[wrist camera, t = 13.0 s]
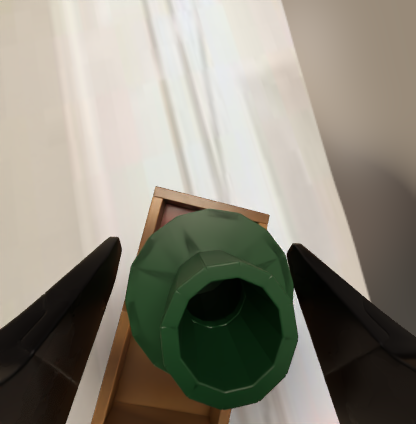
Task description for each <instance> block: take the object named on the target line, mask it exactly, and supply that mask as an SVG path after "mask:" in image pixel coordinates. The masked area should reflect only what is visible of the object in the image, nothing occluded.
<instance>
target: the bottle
mask: <svg viewBox="0 0 416 424" xmlns="http://www.w3.org/2000/svg"><path fill="white" fill-rule="evenodd" d="M293 285H294V284H293V280H292V277H291V273H290V270H289V266H288V262H287V259H286V255H285V253H284V252H283V251H282V249H281V248H280V247H279V245H278V244H277V243H276V241H275V240H274V239H273V237H272V236H271V235H270V233H269V232H268V231H267V230H266V229H265V228H264V227H262V226H260V225H259V224H257V223H256V222H254V221H252V220H251V219H249V218H247V217H246V216H244V215H242V214H241V213H237V212H230V211H224V210H217V209H211V208H209V209H203V210H199V211H195V212H191V213H187V214H183V215H179V216H177V217H175V218H174V219H172V220H171V221H169V222H168V223H167V224H165V225H164V226H163V227H161V228H160V229H158V230H157V231H156V232H154V233H153V234H152V235H151V236H150V237H149V238H148V239H147V241H146V243H145V244H144V246H143V247H142V249H141V251H140V252H139V254H138V255H137V257H136V259H135V260H134V262H133V263H132V266H131V269H130V274H129V280H128V286H127V291H126V297H125V305H126V309H127V314H128V318H129V323H130V327H131V332H132V336H133V338H134V339H135V341H136V342H137V343H138V345H139V346H140V347H141V349H142V350H143V352H144V353H145V354H146V356H147V357H148V358H149V360H150V361H151V362H152V364H153V365H154V366H155V367H157V368H159V369H161V370H163V371H165V372H166V373H168V374H170V375H171V377H172V378H173V379H174V381H175V382H176V383H177V385H178V386H179V387H180V389H181V390H182V392H183V393H184V394H185V396H186V397H188V398H189V399H191V400H194V401H197V402H200V403H202V404H205V405H208V406H211V407H213V408H216V409H219V410H222V409H223V410H228V409H232V408H237V407H241V406H245V405H249V404H253V403H257V402H258V400H259V401H261V400H262V399H263V398H264V397H265V396H266V395H267V394H268V393H269V392H270V391H271V390H272V389H273V388H274V387H275V386H276V385H277V384H278V383H279V382H280V381H281V380H282V379H283V378H284V377H285V376H286V375H285V374H287V373H288V370H289V367H290V364H291V360H292V357H293V354H294V351H295V348H296V345H297V342H298V333H297V326H296V320H295V313H294V307H293V303H292V302H293V291H294V286H293Z"/></svg>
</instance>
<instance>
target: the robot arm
mask: <svg viewBox="0 0 416 424" xmlns="http://www.w3.org/2000/svg"><path fill="white" fill-rule="evenodd" d="M121 252H122V247H121V244H120V240H119V238H118V237H109V238H108V239H106V240H105V241H104V242H103V243H102V244H101V245H100V246H98V247H97V248H96V249H95V250H94V251H93V252H92V253H90V254H89V255H88V256H87V257H86V258H85V259H83V260H82V261H81V262H80V263H79V264H78V265H77V266H75V267H74V268H73V269H72V270H71V271H70V272H69V273H67V274H66V275H65V276H64V277H63V278H62V279H61V280H59V281H58V282H57V283H56V284H55V285H54V286H52V287H51V288H50V289H49V290H48V291H47V292H46V293H45V294H43V295H42V296H41V297H40V298H39V299H37V300H36V301H35V302H34V303H33V304H32V305H30V306H29V307H28V308H27V309H26V310H24V311H23V312H22V313H21V314H20V315H18V316H17V317H16V318H14V319H13V320H12V321H11V322H9V323H8V324H7V325H5V326H4V327H3V328H1V329H0V424H66V421H67V418H68V415H69V412H70V409H71V406H72V404H73V401H74V398H75V395H76V392H77V389H78V386H79V383H80V380H81V378H82V375H83V372H84V369H85V366H86V363H87V360H88V358H89V355H90V352H91V349H92V346H93V343H94V340H95V337H96V335H97V332H98V329H99V326H100V323H101V320H102V317H103V315H104V312H105V309H106V306H107V303H108V300H109V297H110V295H111V292H112V289H113V286H114V283H115V279H116V275H117V271H118V266H119V261H120V257H121ZM287 260H288V265H289V269H290V273H291V277H292V280H293V284H294V285H293V286H294V289H295V292H296V295H297V298H298V301H299V304H300V307H301V310H302V313H303V316H304V319H305V321H306V324H307V327H308V330H309V333H310V336H311V339H312V342H313V345H314V348H315V351H316V354H317V357H318V360H319V363H320V366H321V369H322V372H323V375H324V378H325V381H326V384H327V387H328V390H329V393H330V396H331V399H332V402H333V405H334V408H335V411H336V414H337V417H338V420H339V423H340V424H416V337H415V336H414V335H412V334H411V333H410V332H408V331H407V330H406V329H404V328H403V327H401V326H400V325H399V324H398V323H396V322H395V321H394V320H392V319H391V318H390V317H389V316H387V315H386V314H385V313H383V312H382V311H381V310H380V309H378V308H377V307H376V306H375V305H373V304H372V303H371V302H370V301H369V300H367V299H366V298H365V297H364V296H362V295H361V294H360V293H359V292H358V291H357V290H355V289H354V288H353V287H352V286H351V285H349V284H348V283H347V282H346V281H345V280H344V279H342V278H341V277H340V276H339V275H338V274H336V273H335V272H334V271H333V270H332V269H330V268H329V267H328V266H327V265H326V264H324V263H323V262H322V261H321V260H320V259H319V258H317V257H316V256H315V255H314V254H313V253H311V252H310V251H309V250H308V249H307V248H305V247H304V246H303V245H302V244H299V243H293V244H292V245H291V247H290V249H289V250H288V252H287Z"/></svg>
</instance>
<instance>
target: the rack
mask: <svg viewBox="0 0 416 424" xmlns="http://www.w3.org/2000/svg"><path fill="white" fill-rule="evenodd" d="M209 208H211V209H217V210H224V211H230V212H237V213H241V214H242V215H244V216H246V217H247V218H249V219H251V220H252V221H254V222H256V223H257V224H259V225H260V226H262V227H264V228H265V229H266V230H267V224H268V221H269V216H270V215H268V214H264V213H260V212H256V211H252V210H248V209H244V208H240V207H236V206H232V205H228V204H224V203H220V202H217V201H213V200H209V199H205V198H201V197H197V196H193V195H189V194H185V193H181V192H177V191H173V190H169V189H165V188H161V187H157V186H156V187H155V191H154V194H153V198H152V202H151V206H150V209H149V213H148V217H147V220H146V224H145V228H144V231H143V235H142V239H141V242H140V246H139V249H138V253H137V255H138V254H139V252H140V251H141V249H142V247H143V246H144V244H145V243H146V241H147V239H148V238H149V237H150V236H151V235H152V234H153V233H154V232H156V231H157V230H158V229H160V228H161V227H163V226H164V225H165V224H167V223H168V222H169V221H171V220H172V219H174V218H175V217H177V216H179V215H183V214H187V213H191V212H195V211H199V210H203V209H209ZM230 413H231V409H228V410H223V409H222V410H219V409H216V408H213V407H211V406H208V405H205V404H202V403H200V402H197V401H194V400H191V399H189V398H188V397H186V396H185V394H184V393H183V392H182V390H181V389H180V387H179V386H178V385H177V383H176V382H175V381H174V379H173V378H172V377H171V375H170V374H168V373H166V372H165V371H163V370H161V369H159V368H157V367H155V366H154V365H153V364H152V362H151V361H150V360H149V358H148V357H147V356H146V354H145V353H144V352H143V350H142V349H141V347H140V346H139V345H138V343H137V342H136V341H135V339H134V338H133V336H132V332H131V327H130V323H129V318H128V314H127V309H126V305H125V301H124V304H123V308H122V312H121V316H120V319H119V323H118V327H117V330H116V334H115V338H114V341H113V345H112V349H111V352H110V356H109V360H108V363H107V367H106V371H105V374H104V378H103V382H102V385H101V389H100V393H99V396H98V400H97V404H96V407H95V411H94V415H93V418H92V422H91V424H228V423H229V418H230Z"/></svg>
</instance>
